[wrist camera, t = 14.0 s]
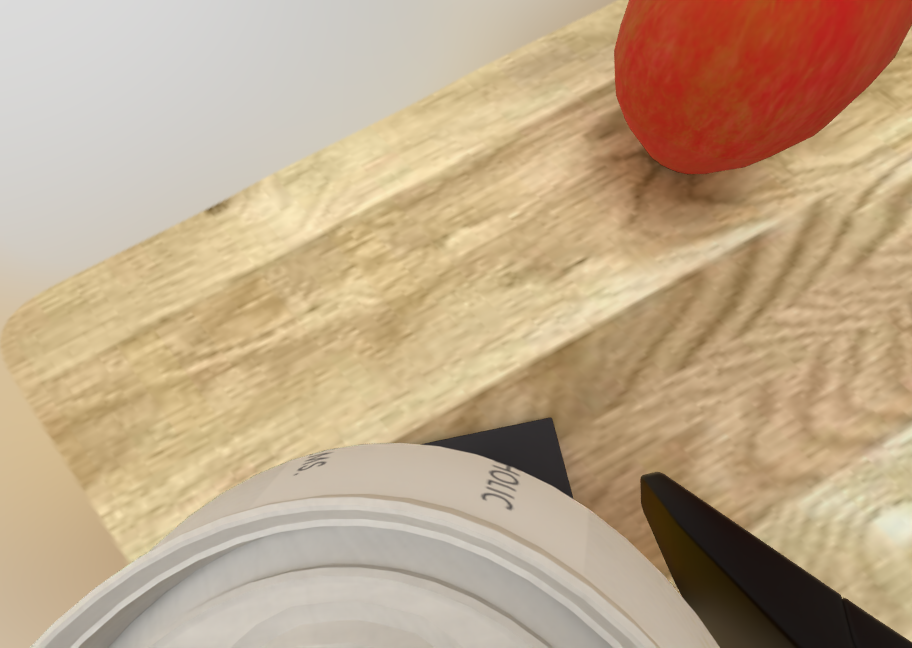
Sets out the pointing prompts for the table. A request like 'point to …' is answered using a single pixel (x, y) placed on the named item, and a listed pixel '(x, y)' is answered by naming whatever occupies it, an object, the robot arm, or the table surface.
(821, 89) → the apple
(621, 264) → the table surface
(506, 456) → the mat
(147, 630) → the beer can
